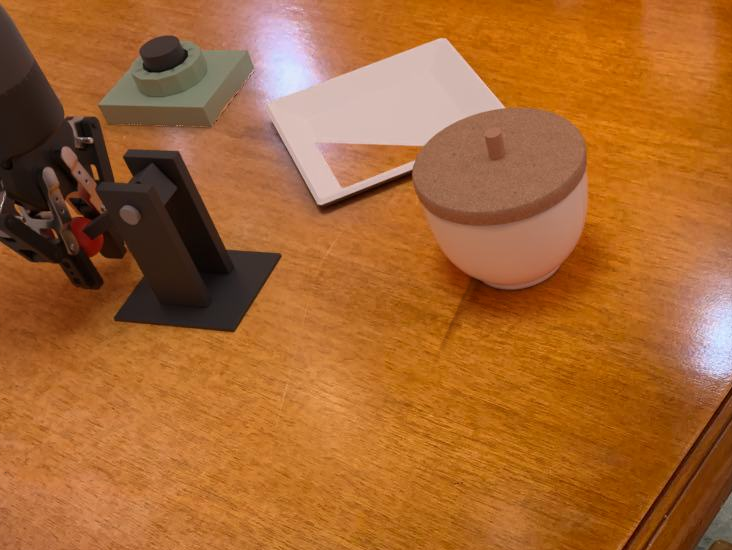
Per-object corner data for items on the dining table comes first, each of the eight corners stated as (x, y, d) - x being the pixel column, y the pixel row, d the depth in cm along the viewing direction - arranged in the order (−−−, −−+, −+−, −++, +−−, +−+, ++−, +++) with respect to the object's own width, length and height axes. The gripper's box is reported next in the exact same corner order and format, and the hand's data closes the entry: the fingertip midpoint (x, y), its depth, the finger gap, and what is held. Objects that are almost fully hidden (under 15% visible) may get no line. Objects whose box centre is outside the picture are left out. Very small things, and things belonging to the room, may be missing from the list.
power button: (139, 74, 100) (131, 57, 99) (159, 52, 102) (151, 35, 101) (174, 75, 99) (167, 57, 98) (193, 52, 101) (186, 35, 100)
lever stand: (119, 329, 83) (41, 205, 73) (171, 256, 88) (104, 131, 78) (238, 340, 80) (173, 212, 70) (285, 264, 85) (230, 135, 75)
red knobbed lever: (78, 271, 83) (44, 242, 81) (98, 246, 85) (65, 216, 83) (165, 214, 75) (130, 180, 73) (185, 187, 77) (151, 153, 75)
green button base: (108, 125, 102) (88, 87, 99) (155, 69, 108) (137, 32, 105) (212, 128, 99) (194, 89, 96) (255, 70, 104) (240, 32, 101)
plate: (325, 224, 87) (317, 203, 85) (270, 122, 98) (262, 102, 96) (524, 145, 90) (521, 123, 88) (449, 55, 101) (444, 34, 99)
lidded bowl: (479, 200, 86) (450, 75, 77) (621, 219, 82) (608, 89, 73) (412, 300, 80) (373, 176, 71) (563, 326, 75) (541, 198, 66)
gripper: (-8, 19, 76) (109, 216, 89) (-126, 132, 68) (21, 327, 82) (76, 17, 74) (182, 218, 87) (-37, 133, 66) (99, 333, 80)
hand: (104, 270), depth 84 cm, fingers closed on red knobbed lever, 3 cm apart
